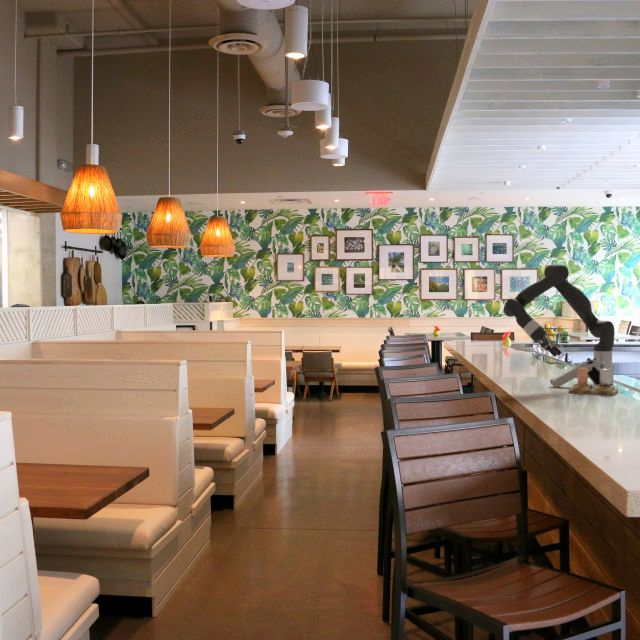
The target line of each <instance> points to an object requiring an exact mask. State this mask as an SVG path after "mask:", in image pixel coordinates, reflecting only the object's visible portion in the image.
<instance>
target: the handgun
mask: <svg viewBox="0 0 640 640" xmlns="http://www.w3.org/2000/svg"><path fill="white" fill-rule="evenodd" d="M596 359H597V358H594V357H593V359H591V358H590V357H588V358H587V359H586V360H584V361H582V362H581V363H578V364H577V365H576V366H574V367H573V368H571V369H569V370H568V371H566V372H564V373H562V374H561V375H559V376H557V377H555V378H553V379H550V380H549V383H550V384H551V385H552V387H554V388H559V387H562V386H563V385H565V384H567V383H568V382H570V381H572V380H573V379H578V368H588V379H589V380H590V381H591V382H592V383H593V385H594V387H595V386H596V385H600V370H599V369H598V366H599V365H601V364H602V363H604V362H598V363H597V362H596Z"/></svg>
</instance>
